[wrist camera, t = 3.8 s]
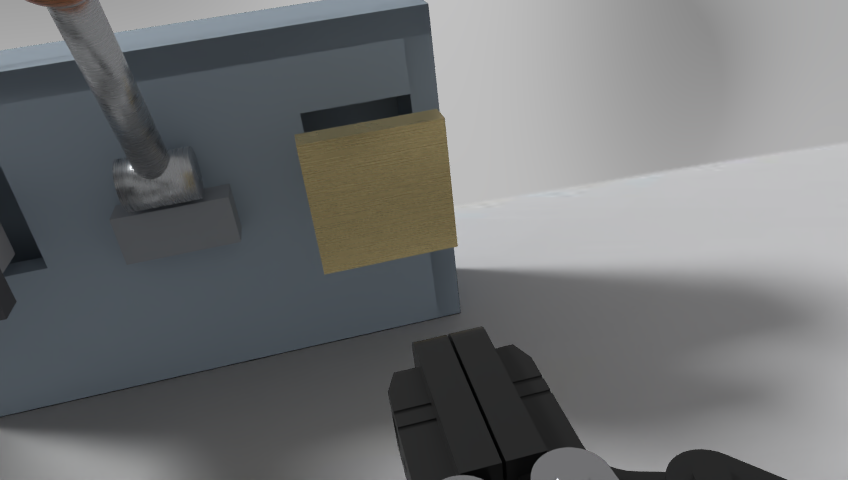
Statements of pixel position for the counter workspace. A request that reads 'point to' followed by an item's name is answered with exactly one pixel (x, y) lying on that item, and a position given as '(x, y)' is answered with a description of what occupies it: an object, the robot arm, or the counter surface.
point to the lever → (125, 112)
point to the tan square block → (379, 189)
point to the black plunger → (3, 298)
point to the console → (200, 200)
